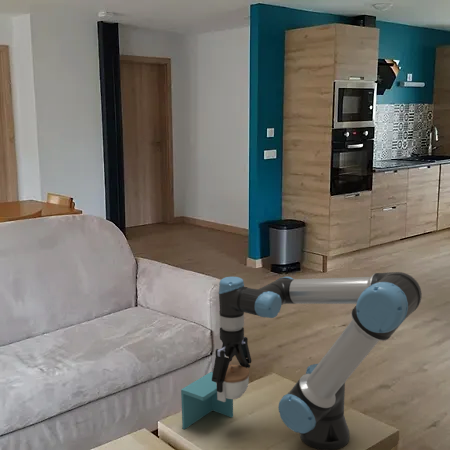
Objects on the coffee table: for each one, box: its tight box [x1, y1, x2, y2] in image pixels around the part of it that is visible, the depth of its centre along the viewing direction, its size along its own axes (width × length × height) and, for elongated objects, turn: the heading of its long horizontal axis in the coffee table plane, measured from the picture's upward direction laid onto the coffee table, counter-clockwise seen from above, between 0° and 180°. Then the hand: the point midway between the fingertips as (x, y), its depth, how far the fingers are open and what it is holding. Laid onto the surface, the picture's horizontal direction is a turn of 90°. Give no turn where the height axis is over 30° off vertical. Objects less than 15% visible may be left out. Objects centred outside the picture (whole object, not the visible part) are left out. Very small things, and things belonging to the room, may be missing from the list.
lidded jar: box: [216, 364, 250, 400], centre depth 186 cm, size 11×11×9 cm
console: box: [180, 371, 234, 430], centre depth 194 cm, size 9×16×14 cm, turn 144°
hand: (232, 393), depth 187 cm, fingers closed on lidded jar, 11 cm apart
